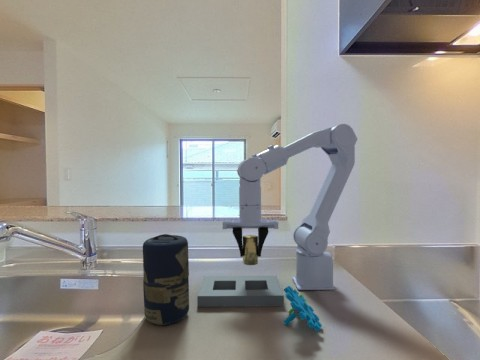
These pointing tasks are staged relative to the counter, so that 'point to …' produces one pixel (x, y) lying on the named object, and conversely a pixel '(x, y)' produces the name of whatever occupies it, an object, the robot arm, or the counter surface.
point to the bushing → (250, 249)
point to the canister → (165, 278)
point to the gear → (301, 309)
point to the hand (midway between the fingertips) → (250, 255)
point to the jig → (240, 291)
